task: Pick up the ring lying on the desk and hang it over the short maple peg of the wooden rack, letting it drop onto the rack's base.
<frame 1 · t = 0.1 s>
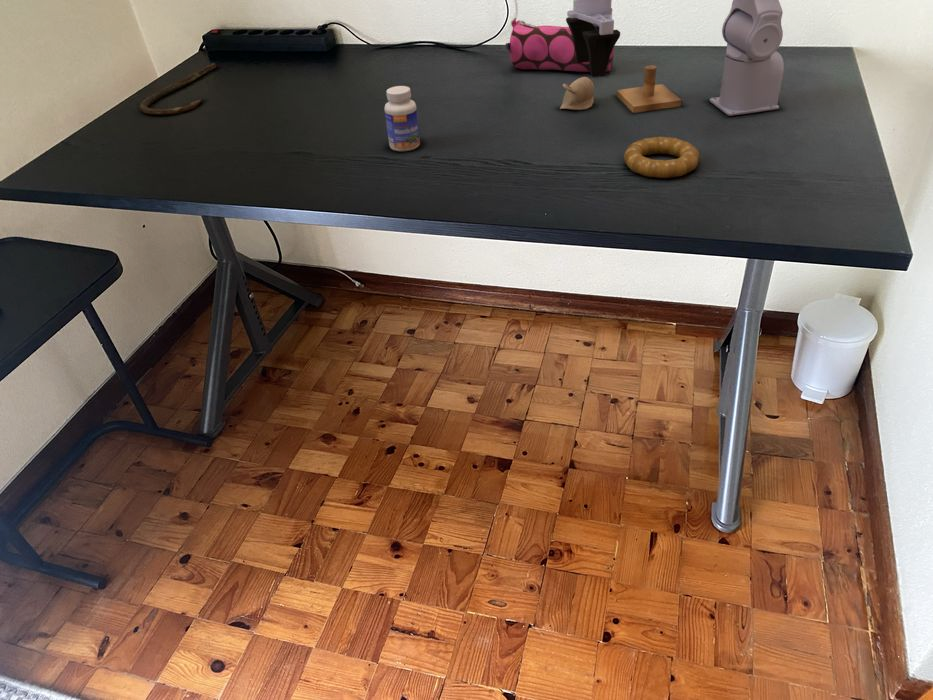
hand: (590, 68, 121), 10 cm above the table, tool pointing down, fingers open, 7 cm apart
rack: (647, 101, 135), on the table
pencil case: (560, 70, 152), on the table
pill bottle: (405, 146, 127), on the table
ring: (661, 156, 113), point 1 cm above the table
hook: (194, 91, 158), on the table
decorative ornament: (576, 107, 136), on the table
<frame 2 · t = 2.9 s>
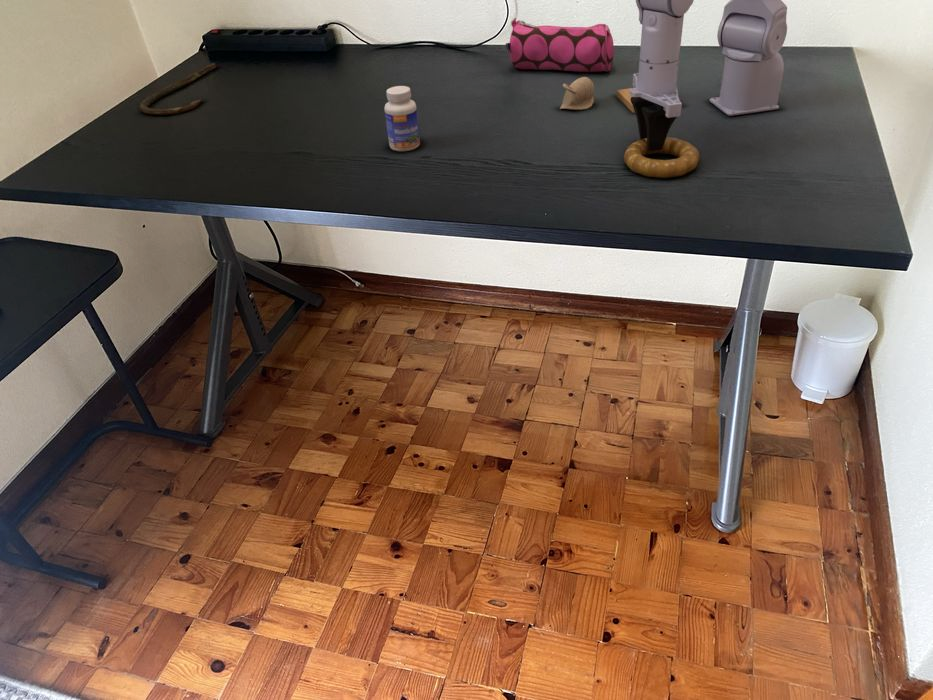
hand: (651, 145, 117), 1 cm above the table, tool pointing down, fingers closed on ring, 3 cm apart
ring: (661, 156, 113), point 1 cm above the table, touching gripper
everything else where it was.
when the fingers open (3 cm above the table, at t = 8.5 s): ring stays where it is, resting on rack.
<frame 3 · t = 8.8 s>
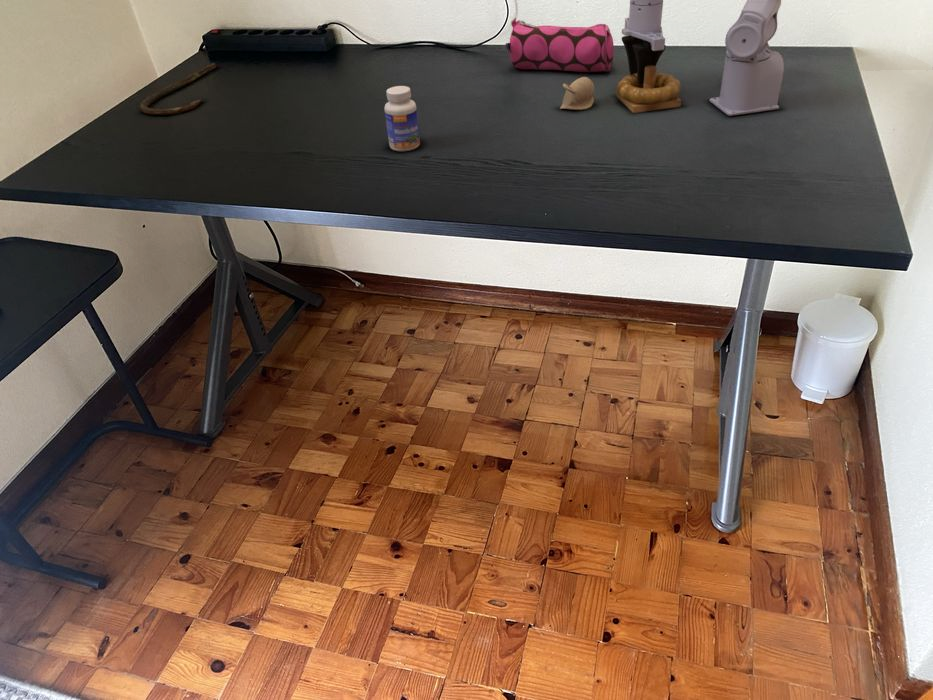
hand: (640, 79, 137), 3 cm above the table, tool pointing down, fingers open, 4 cm apart
ring: (648, 87, 134), point 2 cm above the table, touching rack
everything else where it was.
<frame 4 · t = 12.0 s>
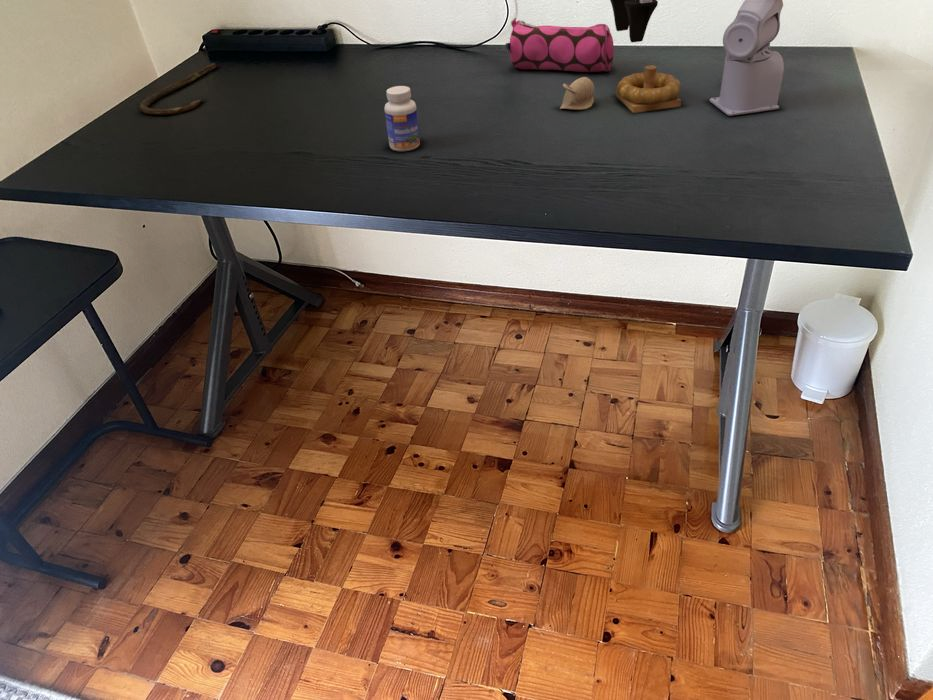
hand: (629, 35, 136), 9 cm above the table, tool pointing down, fingers open, 7 cm apart
nothing on the table moved.
at the end: ring 0.1 cm from the rack (horizontally); ring point 2.5 cm above the table; the gripper is holding nothing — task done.
